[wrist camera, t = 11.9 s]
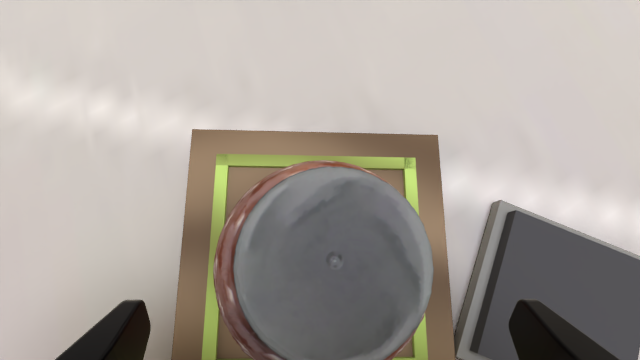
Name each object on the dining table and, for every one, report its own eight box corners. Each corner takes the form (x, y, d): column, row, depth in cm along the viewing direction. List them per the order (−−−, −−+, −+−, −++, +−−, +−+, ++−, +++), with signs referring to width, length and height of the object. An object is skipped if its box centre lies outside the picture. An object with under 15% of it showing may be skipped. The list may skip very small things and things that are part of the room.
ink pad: (607, 420, 18) (637, 434, 16) (449, 353, 18) (463, 360, 17) (636, 260, 20) (664, 259, 18) (493, 202, 20) (509, 196, 19)
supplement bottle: (223, 283, 18) (104, 295, 7) (298, 184, 19) (299, 63, 8) (326, 362, 17) (375, 514, 6) (396, 254, 19) (537, 225, 8)
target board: (453, 399, 18) (461, 406, 17) (171, 404, 17) (164, 411, 16) (433, 138, 21) (439, 133, 20) (195, 133, 20) (190, 127, 19)
